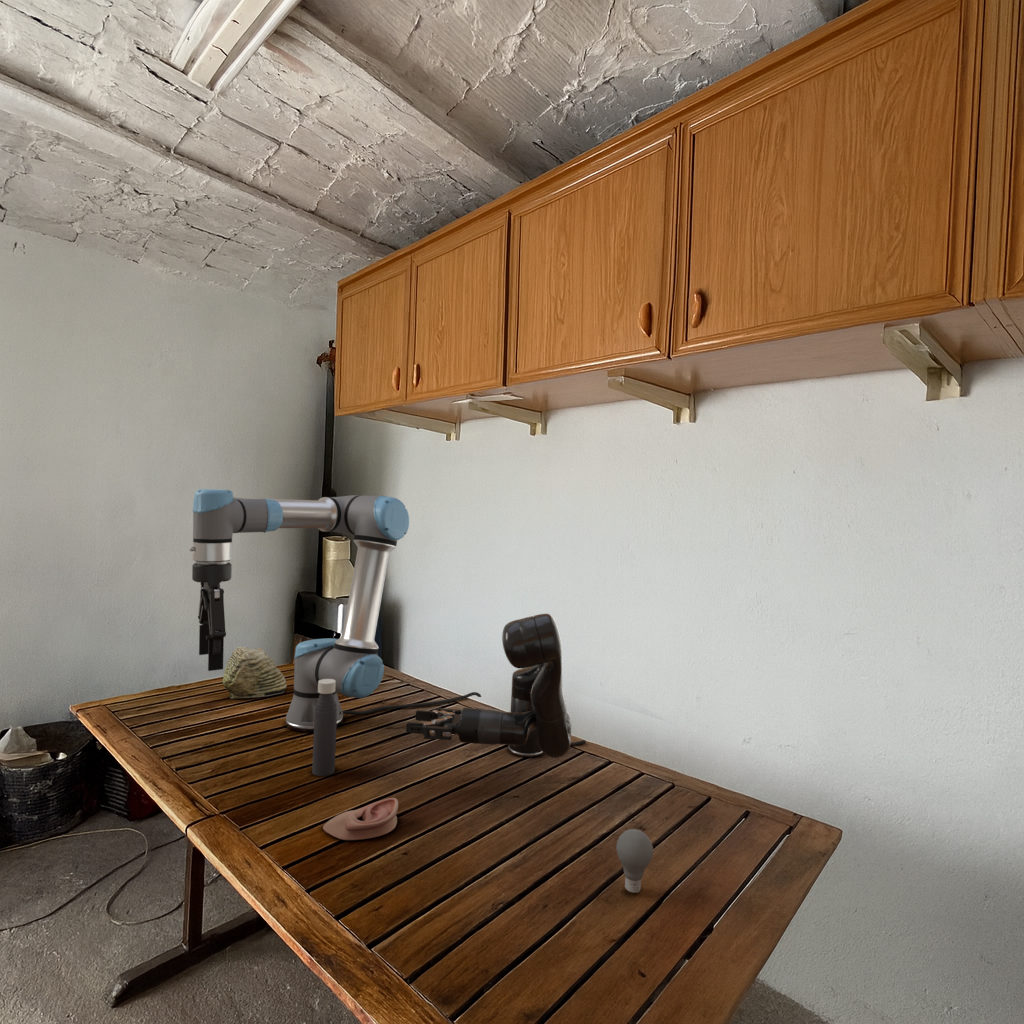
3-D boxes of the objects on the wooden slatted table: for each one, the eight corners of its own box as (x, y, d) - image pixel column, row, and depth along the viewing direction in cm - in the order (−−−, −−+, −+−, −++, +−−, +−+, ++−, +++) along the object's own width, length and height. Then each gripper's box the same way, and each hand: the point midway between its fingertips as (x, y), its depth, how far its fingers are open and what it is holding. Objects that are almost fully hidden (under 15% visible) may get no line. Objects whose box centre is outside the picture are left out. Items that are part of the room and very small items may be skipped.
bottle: (323, 778, 143) (326, 687, 142) (307, 772, 145) (310, 683, 145) (339, 770, 147) (342, 682, 146) (323, 765, 149) (327, 678, 149)
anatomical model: (315, 814, 118) (343, 787, 129) (314, 835, 118) (343, 807, 129) (382, 825, 115) (405, 796, 127) (381, 846, 116) (404, 816, 127)
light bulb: (610, 879, 108) (613, 822, 108) (644, 879, 109) (647, 822, 109) (619, 902, 102) (622, 840, 102) (655, 901, 103) (658, 840, 103)
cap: (326, 695, 143) (326, 684, 143) (314, 691, 145) (314, 681, 145) (338, 690, 146) (339, 680, 146) (326, 687, 148) (327, 677, 148)
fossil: (218, 695, 195) (220, 647, 195) (278, 685, 208) (279, 640, 207) (228, 703, 189) (230, 653, 188) (289, 692, 201) (290, 645, 201)
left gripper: (185, 556, 142) (184, 649, 143) (200, 570, 121) (199, 679, 122) (221, 555, 146) (220, 646, 147) (242, 568, 126) (240, 674, 126)
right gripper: (486, 700, 149) (419, 695, 151) (478, 719, 135) (404, 714, 137) (485, 732, 149) (417, 727, 151) (476, 754, 135) (402, 749, 137)
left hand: (210, 661), depth 135 cm, fingers open, 13 cm apart
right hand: (411, 721), depth 144 cm, fingers open, 8 cm apart
